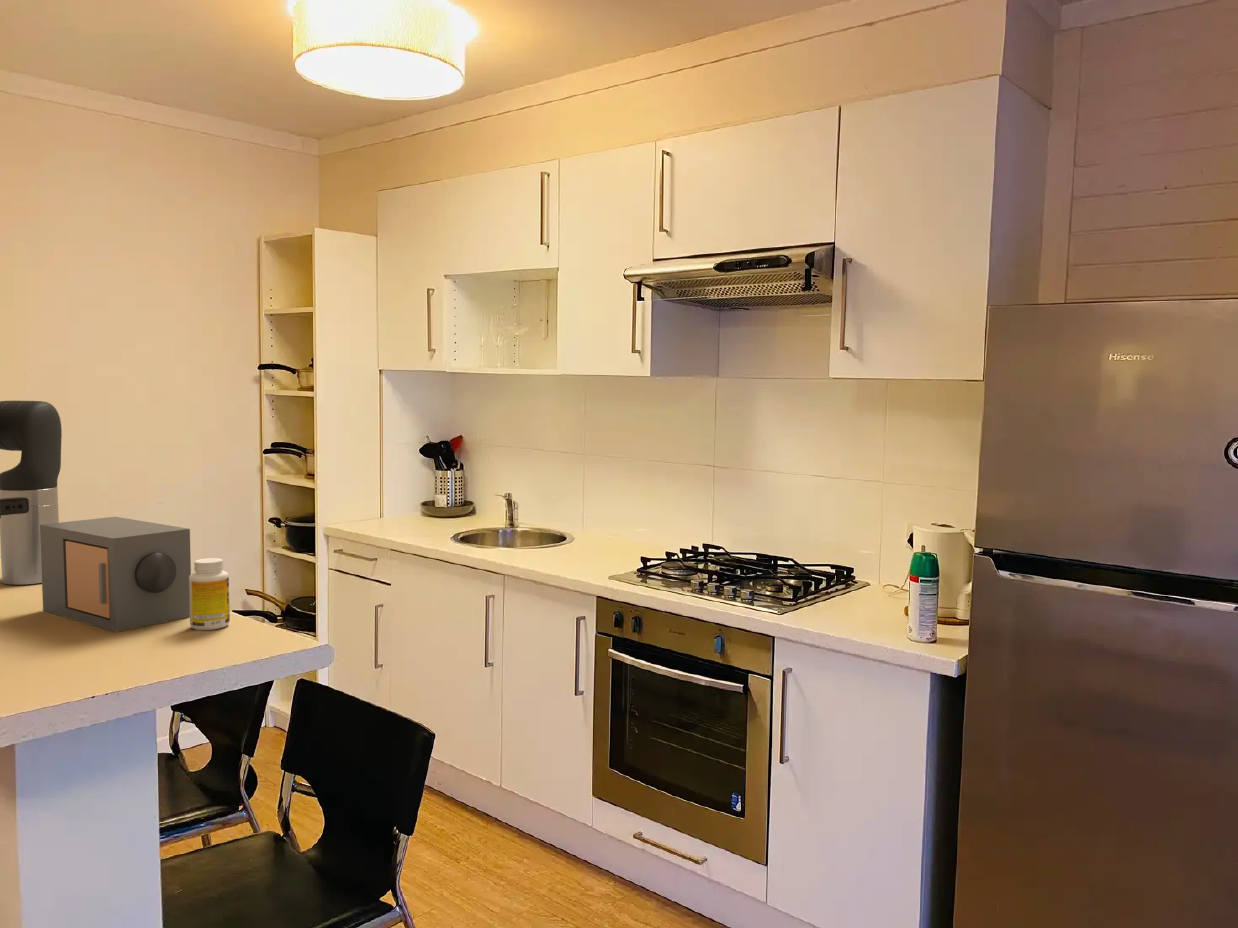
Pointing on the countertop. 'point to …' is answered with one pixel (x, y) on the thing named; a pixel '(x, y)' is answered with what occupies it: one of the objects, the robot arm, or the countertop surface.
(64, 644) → the countertop surface
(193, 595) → the supplement bottle
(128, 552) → the housing
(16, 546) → the robot arm
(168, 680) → the countertop surface
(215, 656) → the countertop surface
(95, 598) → the door
